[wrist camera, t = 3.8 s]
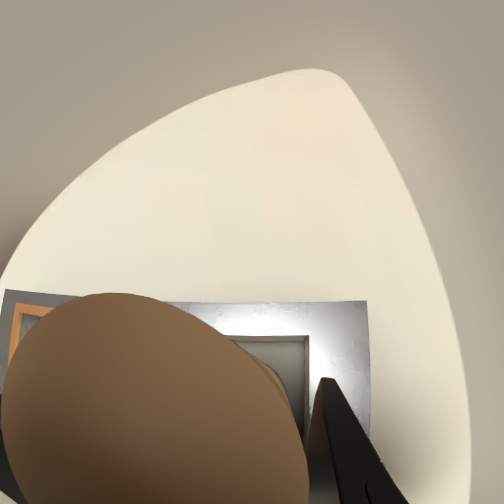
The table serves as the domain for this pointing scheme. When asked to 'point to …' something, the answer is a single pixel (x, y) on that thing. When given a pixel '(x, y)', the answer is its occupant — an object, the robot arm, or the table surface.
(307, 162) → the table surface
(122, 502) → the peg
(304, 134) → the table surface
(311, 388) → the plate with square holes
